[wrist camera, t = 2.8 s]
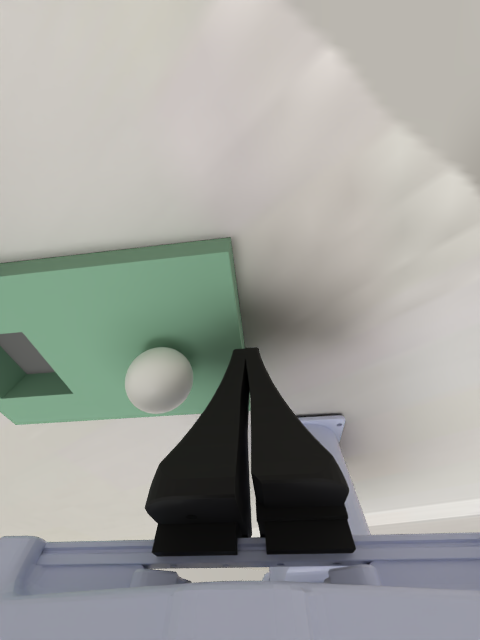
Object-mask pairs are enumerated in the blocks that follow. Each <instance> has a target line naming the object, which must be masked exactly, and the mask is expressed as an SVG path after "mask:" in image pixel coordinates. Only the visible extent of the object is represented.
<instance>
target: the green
mask: <svg viewBox="0 0 480 640" xmlns="http://www.w3.org/2000/svg"><path fill="white" fill-rule="evenodd" d="M157 347H167V348H172V349H175V350H177V351H179V352H180V353H181V354H183V355H184V356H185V357H186V358H187V360H188V361H189V363H190V365H191V367H192V371H193V384H192V388H191V391H190V393H189V395H188V396H187V398H186V399H185V400H184V402H183V403H182V404H180V405H179V406H178V407H177V408H175V409H173V410H171V411H169V412H165V413H161V414H151V413H146V412H144V411H141V410H140V409H138V408H137V407H135V406H134V405H133V404H132V403H131V401H130V400H129V398H128V396H127V394H126V390H125V376H126V373H127V370H128V368H129V366H130V365H131V363H132V362H133V361H134V359H135V358H136V357H137V356H139V355H140V354H141V353H143V352H145V351H147V350H149V349H152V348H157ZM244 348H245V345H244V337H243V329H242V322H241V314H240V306H239V299H238V291H237V283H236V275H235V268H234V260H233V252H232V245H231V237H229V238H221V239H212V240H203V241H194V242H185V243H177V244H168V245H159V246H150V247H141V248H133V249H124V250H115V251H106V252H97V253H88V254H80V255H71V256H62V257H53V258H44V259H36V260H27V261H18V262H9V263H0V412H1V413H2V414H3V415H4V416H6V417H7V418H8V419H9V420H11V421H12V422H13V423H14V424H15V425H22V424H38V423H55V422H71V421H87V420H104V419H120V418H136V417H153V416H169V415H186V414H202V413H203V411H204V410H205V409H206V407H207V405H208V404H209V402H210V401H211V399H212V397H213V396H214V394H215V392H216V390H217V388H218V387H219V385H220V383H221V381H222V379H223V376H224V374H225V372H226V370H227V367H228V365H229V362H230V359H231V356H232V353H233V350H234V349H244ZM249 411H251V408H250V393H249Z"/></svg>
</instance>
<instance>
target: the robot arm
mask: <svg viewBox="0 0 480 640" xmlns="http://www.w3.org/2000/svg"><path fill="white" fill-rule="evenodd" d="M249 393H250V397H251V474H252V479H253V485H254V491H255V496H256V515H257V522H258V525H259V531H260V537H257V538H250V537H251V536H252V525H251V505H250V484H249V461H248V414H249ZM344 424H345V418H344V417H343V416H341V415H335V416H318V417H300V418H297V416H296V415H295V414H294V413H293V412H292V410H291V409H290V408H289V406H288V405H287V404H286V402H285V401H284V399H283V398H282V396H281V395H280V393H279V392H278V390H277V389H276V387H275V385H274V384H273V382H272V380H271V378H270V376H269V374H268V373H267V371H266V369H265V366H264V364H263V362H262V359H261V356H260V353H259V349H258V348H257V347H256V348H244V349H234V350H233V353H232V356H231V359H230V362H229V365H228V367H227V370H226V372H225V374H224V376H223V379H222V381H221V383H220V385H219V387H218V388H217V390H216V392H215V394H214V396H213V397H212V399H211V401H210V402H209V404H208V405H207V407H206V409H205V410H204V411H203V413H202V414H201V416H200V417H199V419H198V420H197V421H196V423H195V424H194V425H193V427H192V428H191V429H190V430H189V431H188V433H187V434H186V435H185V436H184V438H183V439H182V440H181V441H180V442H179V443H178V445H177V446H176V447H175V448H174V449H173V450H172V451H171V452H170V453H169V454H168V455H167V456H166V457H165V458H164V460H163V461H162V462H161V463H160V464H159V466H158V469H157V471H156V473H155V476H154V479H153V481H152V484H151V487H150V490H149V494H148V498H147V501H146V505H145V509H146V511H147V513H148V514H149V515H150V516H151V517H152V518H153V519H154V520H155V521H156V522H157V523H158V527H157V531H156V535H155V539H154V540H123V541H79V542H46V541H45V540H43V539H41V538H39V537H35V536H4V537H2V538H0V640H480V533H435V534H391V535H371V534H370V531H369V528H368V525H367V523H366V520H365V517H364V514H363V511H362V508H361V506H360V503H359V500H358V497H357V494H356V491H355V489H354V486H353V483H352V480H351V477H350V474H349V472H348V469H347V466H346V463H345V460H344V457H343V455H342V452H341V449H340V446H339V443H340V439H341V435H342V432H343V428H344ZM227 567H228V568H229V567H230V568H233V567H234V568H235V567H269V571H270V572H269V573H266V574H265V575H264V577H263V580H262V581H220V582H199V583H192V582H191V581H188V580H185V579H182V578H181V577H179V576H178V575H177V573H176V572H173V571H162V570H153V569H159V568H227Z"/></svg>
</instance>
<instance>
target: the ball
mask: <svg viewBox="0 0 480 640" xmlns="http://www.w3.org/2000/svg"><path fill="white" fill-rule="evenodd" d="M192 384H193V371H192V367H191V365H190V363H189V361H188V360H187V358H186V357H185V356H184V355H183V354H181V353H180V352H179V351H177V350H175V349H172V348H167V347H157V348H152V349H149V350H147V351H145V352H143V353H141V354H140V355H139V356H137V357H136V358H135V359H134V361H133V362H132V363H131V365H130V366H129V368H128V370H127V373H126V376H125V390H126V394H127V396H128V398H129V400H130V401H131V403H132V404H133V405H134V406H135V407H137V408H138V409H140V410H141V411H144V412H146V413H151V414H161V413H165V412H169V411H171V410H173V409H175V408H177V407H178V406H179V405H180V404H182V403H183V402H184V400H185V399H186V398H187V396H188V395H189V393H190V391H191V388H192Z"/></svg>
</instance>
